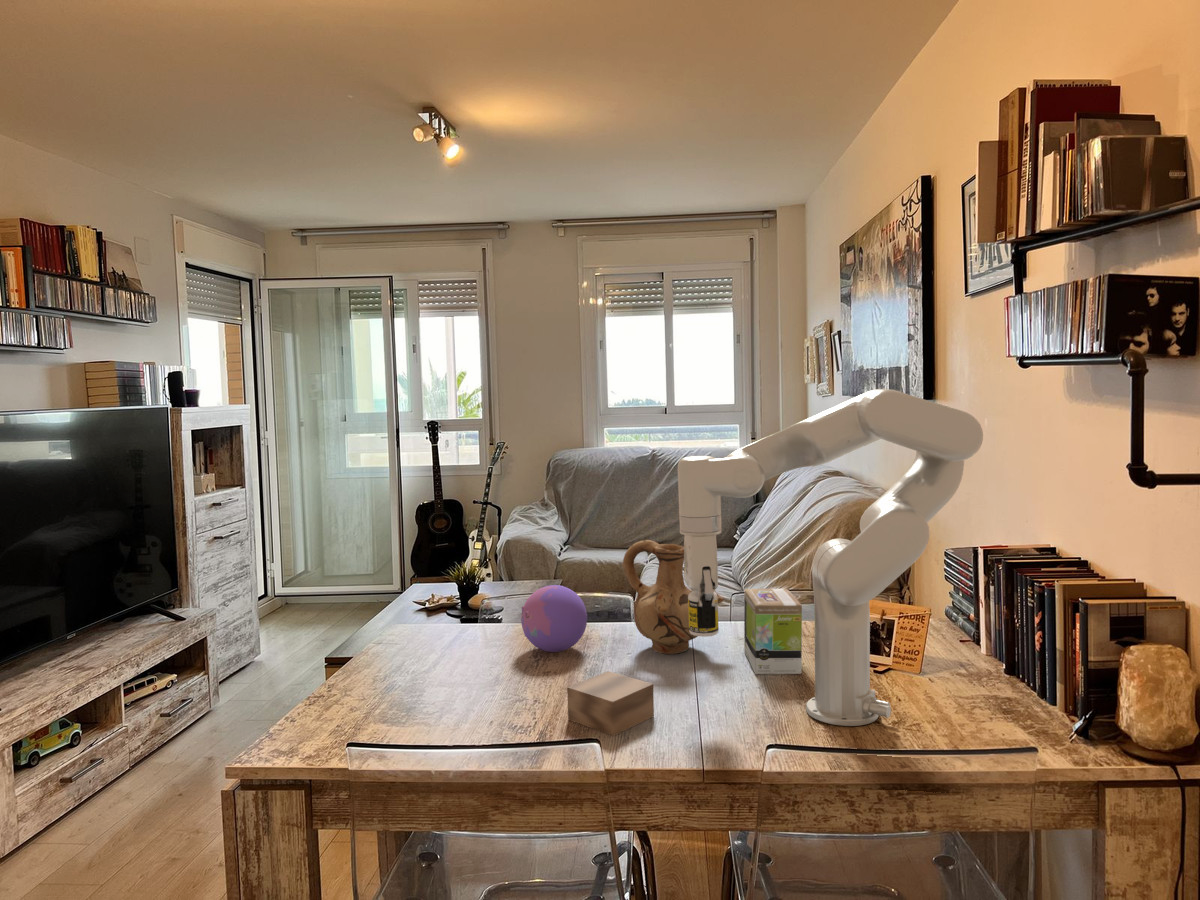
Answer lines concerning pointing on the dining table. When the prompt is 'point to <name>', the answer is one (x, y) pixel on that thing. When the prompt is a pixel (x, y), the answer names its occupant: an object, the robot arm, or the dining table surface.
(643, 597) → the ceramic vessel
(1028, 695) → the dining table surface
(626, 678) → the walnut block
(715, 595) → the supplement bottle
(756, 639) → the tea box
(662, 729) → the dining table surface
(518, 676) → the dining table surface
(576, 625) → the decorative ball
